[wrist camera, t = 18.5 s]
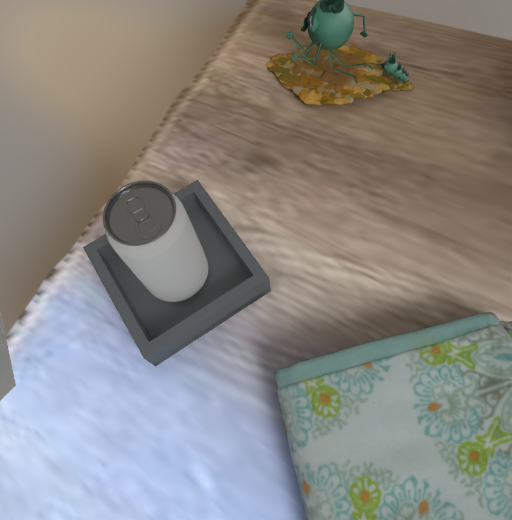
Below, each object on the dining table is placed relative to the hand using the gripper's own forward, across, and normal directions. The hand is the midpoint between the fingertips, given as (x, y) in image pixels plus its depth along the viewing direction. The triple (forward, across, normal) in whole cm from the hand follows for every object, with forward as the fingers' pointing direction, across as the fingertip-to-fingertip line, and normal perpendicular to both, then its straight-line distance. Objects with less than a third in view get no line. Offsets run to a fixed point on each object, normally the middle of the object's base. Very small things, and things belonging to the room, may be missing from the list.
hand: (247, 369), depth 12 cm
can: (+31, -12, -12) cm, 36 cm away
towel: (+23, +11, -23) cm, 34 cm away
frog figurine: (+51, +1, +5) cm, 51 cm away
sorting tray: (+32, -12, -13) cm, 36 cm away
